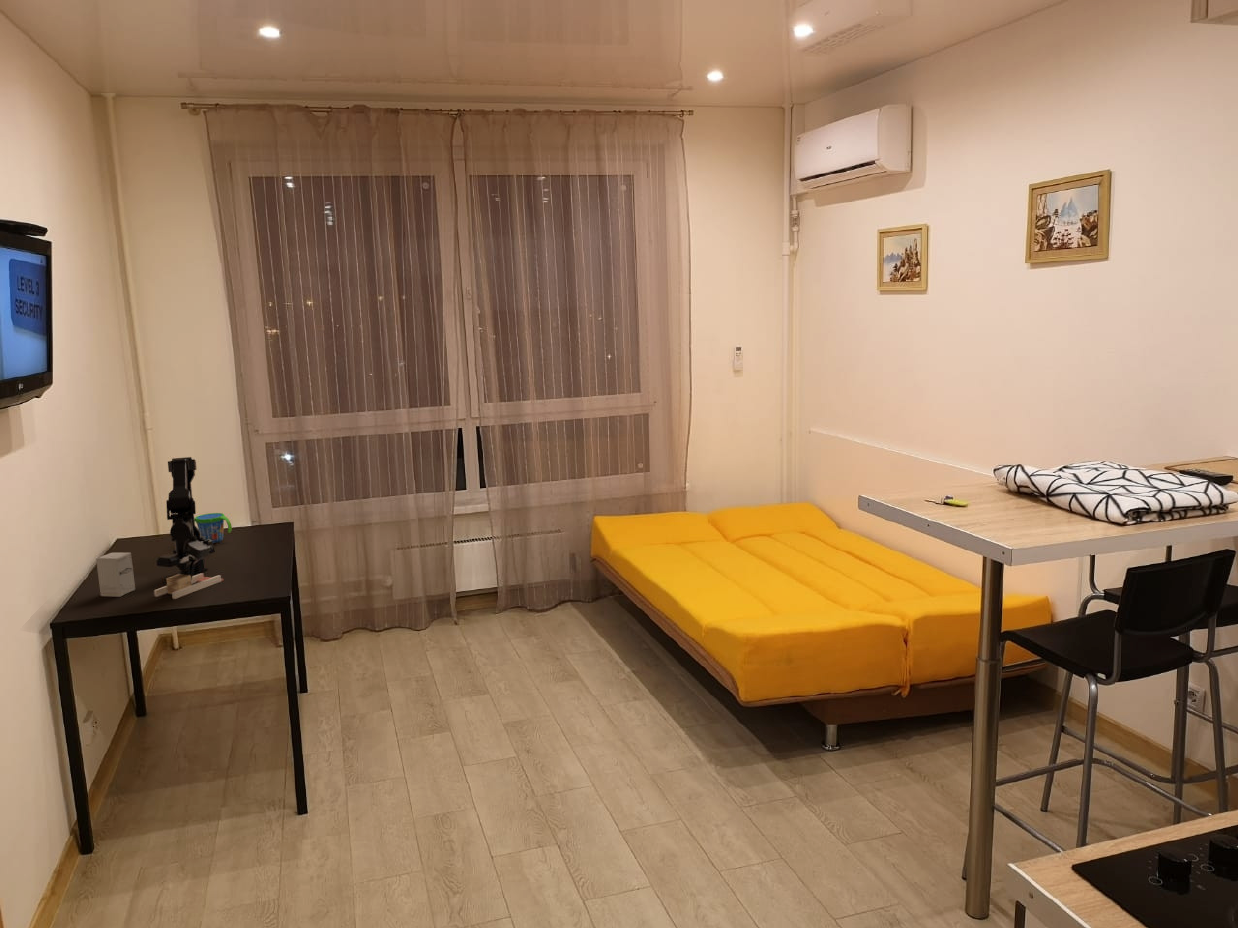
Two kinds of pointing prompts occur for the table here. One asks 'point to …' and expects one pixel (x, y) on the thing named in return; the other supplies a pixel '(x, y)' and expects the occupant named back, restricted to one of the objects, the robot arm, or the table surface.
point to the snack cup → (212, 526)
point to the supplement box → (115, 574)
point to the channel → (197, 578)
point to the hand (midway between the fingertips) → (189, 580)
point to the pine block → (178, 582)
